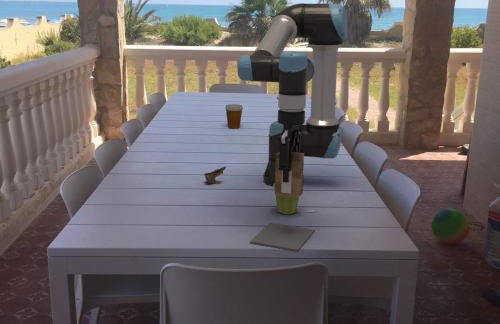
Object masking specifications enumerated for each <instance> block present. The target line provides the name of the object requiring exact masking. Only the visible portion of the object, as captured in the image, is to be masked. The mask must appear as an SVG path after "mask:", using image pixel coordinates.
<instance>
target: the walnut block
mask: <svg viewBox="0 0 500 324" xmlns="http://www.w3.org/2000/svg"><path fill="white" fill-rule="evenodd" d="M304 166H305V156H304V153H298V152H292V161H291V171H292V184H291V193H282V192H281V185H282V170H279V152H278V153H276V172H275V189H274V195H275V196H276V195H283V196H290V197H297V198H300V197H301V196H302V195H303V190H304V189H303V188H304V183H303V175H304Z"/></svg>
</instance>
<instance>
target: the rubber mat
mask: <svg viewBox="0 0 500 324" xmlns="http://www.w3.org/2000/svg"><path fill="white" fill-rule="evenodd" d="M315 231H316V230H315V229H313V228H309V227H307V228H306V227H299V226H295V225H288V224H284V223H283V224H282V223H277V222H275V223H274V222H269V223H267V225H265V226H264V227H263V228H262V229H261V230H260V232H258V233H257V234H256V235H255V236H254V237H253V238H252V239H250V241H249V244H253V245H258V246H264V247H270V248H275V249H281V250H286V251H287V250H288V251H292V252H299V251H300V250H301V248H303V246H304V245H305V244H306V243H307V242H308V240H309V239H310V238H311V237H312V235H313V234H314V233H315Z"/></svg>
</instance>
